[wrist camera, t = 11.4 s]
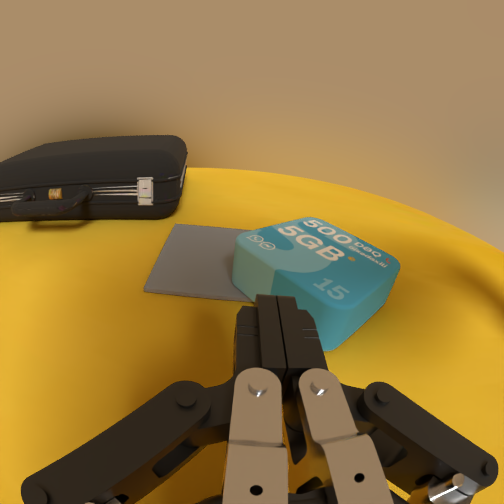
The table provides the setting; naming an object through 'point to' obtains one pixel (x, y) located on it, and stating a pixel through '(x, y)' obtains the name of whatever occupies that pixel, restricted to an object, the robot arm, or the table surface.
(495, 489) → the table surface
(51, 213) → the briefcase
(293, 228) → the data package
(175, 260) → the mat
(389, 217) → the table surface
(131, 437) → the robot arm
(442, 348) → the table surface
